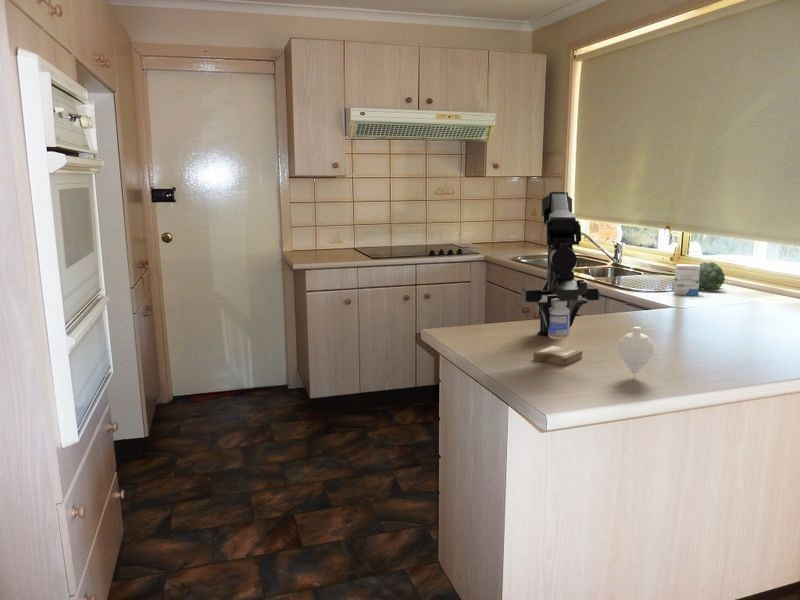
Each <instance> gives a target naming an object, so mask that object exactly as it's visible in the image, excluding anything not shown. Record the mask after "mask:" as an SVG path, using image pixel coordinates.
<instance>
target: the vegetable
mask: <svg viewBox="0 0 800 600" xmlns="http://www.w3.org/2000/svg"><path fill="white" fill-rule="evenodd" d="M699 265H700V276H699V291H700V290H702V289H703V291H705V292H709V291H710V290H713V289H720V288H721V287H722V286H723V284H724V283H725V280H726V278H725V277H726V275H725V272H723V269H722V268H721V266H719V265H718V264H716V263H714V262H701V263H700V264H699Z"/></svg>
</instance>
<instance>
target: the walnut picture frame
mask: <svg viewBox="0 0 800 600" xmlns="http://www.w3.org/2000/svg"><path fill="white" fill-rule="evenodd" d="M533 359H534V360H533ZM533 359H532V360H533V361H537V360H539V361H538V362H542V361H544V362H543V363H547V362H548V364H552V363H553V364H552V365H558V366H564V367H567V366H569V365H571V364H573V363H575V362H577V361H579V360H581V359H583V350H580V349H575V348H569V347H564V346H558V345H552V344H549V345H548V346H546V347H543V348H540V349H538V350H535V351H533Z"/></svg>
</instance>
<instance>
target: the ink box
mask: <svg viewBox="0 0 800 600" xmlns="http://www.w3.org/2000/svg"><path fill="white" fill-rule="evenodd" d="M674 270H675V271H674V289H673V290H674V291H673V294H674V295H679V296H693V297H694V296H695V297H697V296H698V295H699V291H700V290H699V276H700V264H684V263H682V264H680V263H677V264H676V265H675V268H674Z"/></svg>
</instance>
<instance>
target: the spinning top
mask: <svg viewBox="0 0 800 600" xmlns="http://www.w3.org/2000/svg"><path fill="white" fill-rule="evenodd" d="M654 350H655V345H654V343H653V341H652V339H651V338H650V337H649V336H648V335H646V334H644V333H643V332H642V327H641V326H633V327H632V332H628V333H626V334H625V335H624V336H622V338H621V339H620V340H619V342H618V353H619V354H620V357H621V358H622V361H623V362H624V363H625V365H626V368H628V369H629V371H630V372H631V373H632V374H633V379H635V378H636V374H638V373H639V372H640V371H641V370H642V369H643V368H644V367H645V366H646V364H647V363H648V362H649V361H650V359H651V358H652V356H653V354H654Z"/></svg>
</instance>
